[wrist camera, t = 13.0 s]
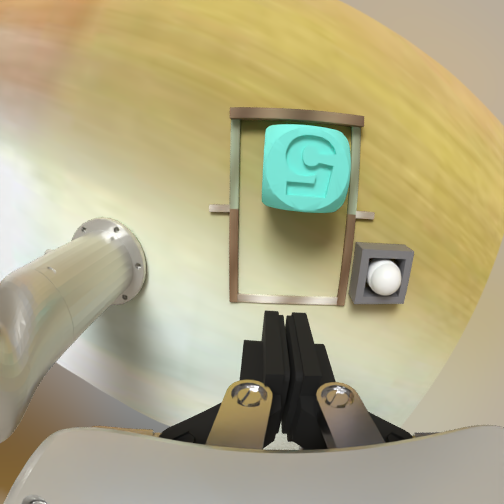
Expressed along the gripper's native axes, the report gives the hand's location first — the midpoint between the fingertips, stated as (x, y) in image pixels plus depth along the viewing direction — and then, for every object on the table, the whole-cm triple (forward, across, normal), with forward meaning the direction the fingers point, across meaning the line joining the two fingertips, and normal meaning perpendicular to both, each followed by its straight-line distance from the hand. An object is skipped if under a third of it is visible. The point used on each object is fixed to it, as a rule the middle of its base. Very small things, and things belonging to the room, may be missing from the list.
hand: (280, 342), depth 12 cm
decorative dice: (+24, -3, -7) cm, 26 cm away
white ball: (+23, -15, +5) cm, 28 cm away
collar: (+24, -15, +5) cm, 28 cm away
